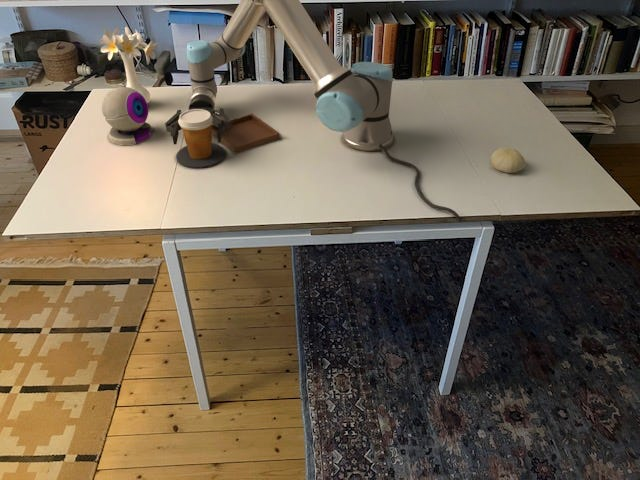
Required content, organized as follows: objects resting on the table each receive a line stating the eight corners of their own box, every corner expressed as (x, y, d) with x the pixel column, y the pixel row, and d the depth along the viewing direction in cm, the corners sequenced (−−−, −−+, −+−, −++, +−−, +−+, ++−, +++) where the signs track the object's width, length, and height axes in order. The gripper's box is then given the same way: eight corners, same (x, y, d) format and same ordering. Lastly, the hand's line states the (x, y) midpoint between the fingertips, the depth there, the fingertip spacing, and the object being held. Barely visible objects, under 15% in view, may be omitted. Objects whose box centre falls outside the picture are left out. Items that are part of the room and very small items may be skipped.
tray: (279, 138, 166) (279, 133, 165) (234, 153, 159) (234, 147, 158) (252, 118, 177) (252, 113, 175) (209, 131, 169) (208, 126, 168)
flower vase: (161, 115, 178) (146, 38, 162) (106, 113, 179) (86, 36, 163) (172, 99, 188) (160, 24, 172) (120, 96, 189) (103, 22, 173)
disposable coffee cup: (224, 151, 159) (219, 113, 151) (201, 165, 152) (196, 126, 145) (199, 143, 162) (194, 105, 155) (176, 156, 156) (170, 118, 149)
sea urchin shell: (509, 173, 147) (499, 146, 148) (491, 181, 155) (481, 155, 155) (534, 165, 151) (524, 138, 151) (515, 173, 158) (506, 147, 158)
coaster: (234, 158, 156) (233, 157, 156) (189, 173, 150) (189, 171, 150) (211, 139, 165) (211, 138, 165) (168, 153, 159) (168, 151, 159)
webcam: (136, 148, 161) (126, 100, 152) (100, 141, 164) (87, 94, 155) (160, 128, 171) (151, 83, 161) (125, 122, 174) (114, 77, 164)
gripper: (242, 115, 170) (241, 149, 153) (164, 118, 168) (155, 153, 151) (240, 92, 166) (238, 125, 149) (160, 95, 164) (150, 128, 147)
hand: (196, 139), depth 150 cm, fingers open, 11 cm apart
